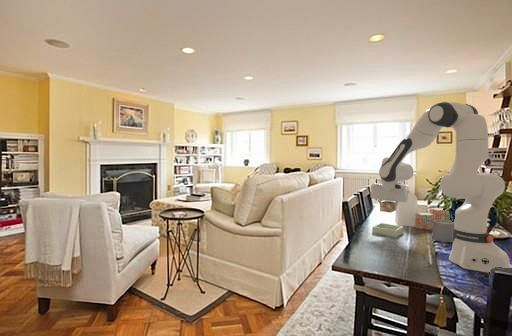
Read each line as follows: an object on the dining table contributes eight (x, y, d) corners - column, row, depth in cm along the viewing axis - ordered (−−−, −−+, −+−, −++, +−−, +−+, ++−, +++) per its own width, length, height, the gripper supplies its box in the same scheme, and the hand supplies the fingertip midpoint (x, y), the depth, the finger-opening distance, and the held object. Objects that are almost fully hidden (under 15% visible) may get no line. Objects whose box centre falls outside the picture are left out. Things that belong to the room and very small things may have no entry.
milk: (417, 226, 181) (419, 186, 179) (398, 225, 184) (399, 185, 183) (413, 222, 192) (414, 184, 191) (395, 221, 196) (396, 183, 194)
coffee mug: (433, 241, 152) (434, 222, 151) (431, 236, 160) (432, 218, 160) (464, 244, 146) (465, 225, 145) (460, 239, 155) (460, 221, 154)
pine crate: (396, 210, 166) (396, 201, 166) (390, 212, 160) (391, 203, 160) (385, 208, 171) (385, 200, 170) (380, 211, 164) (380, 202, 164)
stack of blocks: (421, 229, 174) (422, 210, 173) (415, 227, 180) (415, 208, 179) (454, 229, 175) (455, 209, 175) (446, 226, 182) (447, 207, 181)
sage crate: (403, 233, 166) (403, 226, 166) (395, 237, 157) (395, 230, 157) (380, 229, 175) (380, 222, 175) (372, 233, 166) (372, 226, 166)
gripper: (369, 183, 169) (368, 206, 170) (406, 186, 155) (405, 211, 156) (373, 182, 174) (372, 204, 175) (409, 185, 160) (408, 209, 161)
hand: (388, 207), depth 165 cm, fingers closed on pine crate, 6 cm apart
